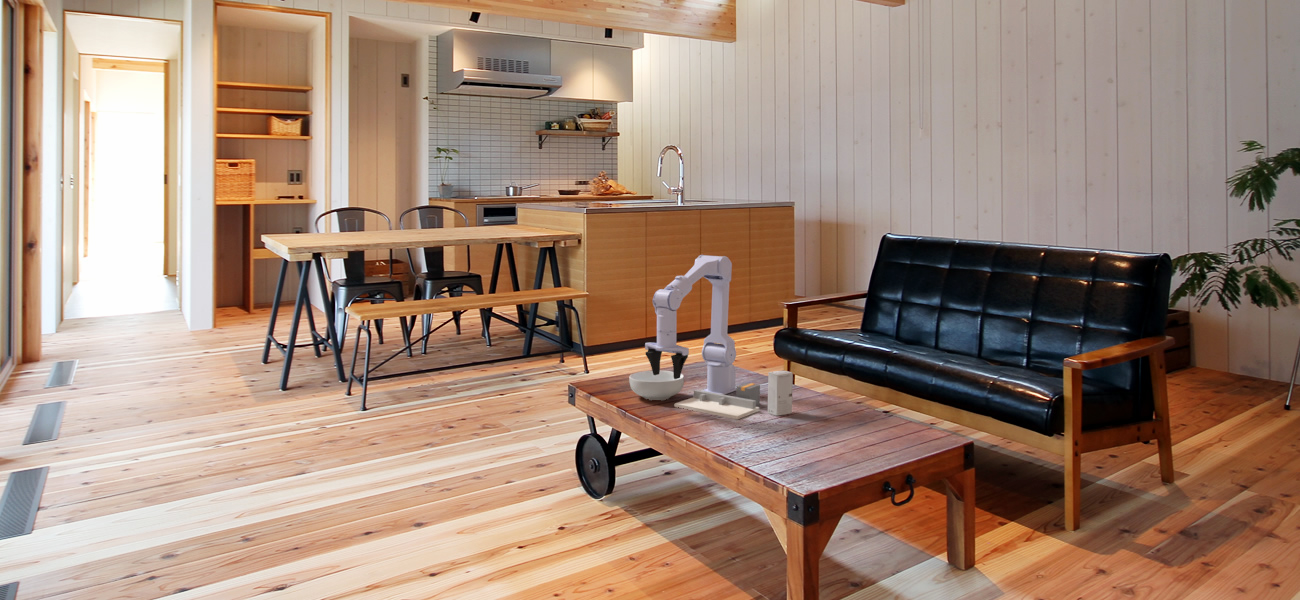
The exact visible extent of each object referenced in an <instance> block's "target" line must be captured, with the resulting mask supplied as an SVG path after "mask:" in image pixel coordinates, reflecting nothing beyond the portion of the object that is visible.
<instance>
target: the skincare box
mask: <svg viewBox="0 0 1300 600" xmlns="http://www.w3.org/2000/svg"><path fill="white" fill-rule="evenodd" d="M767 375H768V377H767V378H768V379H767V380H768V381H767V413H768V414H769V415H771V416H775V417H778V416H784V415H788V414H789V415H790V414H792V413H793V381H794V377H793V375H794V374H793V372H792V371H788V370H783V369H782V370H774V371H770V372H769V371H768V373H767Z"/></svg>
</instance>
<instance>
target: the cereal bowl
mask: <svg viewBox="0 0 1300 600" xmlns="http://www.w3.org/2000/svg"><path fill="white" fill-rule="evenodd" d="M628 379H629V380H628V381H629V385H630V389H631V390H632V391H633V392H634V394H636V395H637V396H641V397H642V398H643V399H645V400H647V399H649V400H648V401H652V400H661V401H665V400H666V399H667V400H669V399H670V398H671V397H673V396H676V395H677V394H679V393H680V392H681V391H682V390H683V388H684V385H685V384H684V383H685V376H684V374H683V373H681V375H680V378H678V379H674V374H673V371H670V370H660V373H659V374H658V375H653V371H652V370H642V371H639V372H638V371H637V372H634V373H631V374H630V375H629V378H628Z"/></svg>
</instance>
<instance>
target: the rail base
mask: <svg viewBox="0 0 1300 600" xmlns="http://www.w3.org/2000/svg"><path fill="white" fill-rule="evenodd" d="M674 407H675V408H678V407H679V408H678V409H683V408H684V410H687V409H688V410H689V411H692V410H693V412H698V413H702V414H703V413H704V414H709V415H711V416H712V415H713V416H717V417H723V418H727V419H733V420H739V419H742V418H744V417H746V416H749V415H752V414H754V413H757V412H759V411H760V407H759V406H756V401H755V400H750V399H744V398H739V397H736V396H732V395H727V394H725V395H723V394H717V393H712V392H706V391H702V389H701V390H700V389H695V390H693V397H690V398H688V399H687V398H686V399H684V400H681V401H679V402H676V403H674Z"/></svg>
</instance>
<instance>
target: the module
mask: <svg viewBox="0 0 1300 600" xmlns="http://www.w3.org/2000/svg"><path fill="white" fill-rule="evenodd" d="M736 388H737V390H736V391H735V392H736V394H735V395H736V396H735V397H739V398H744V399H750V400H755V401H756V405H757V406H759V405H761V403H760V401H761V400H760V398H761V385H760V384H756V383H754V382H745V383H743V384H741V385H737V386H736Z"/></svg>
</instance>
